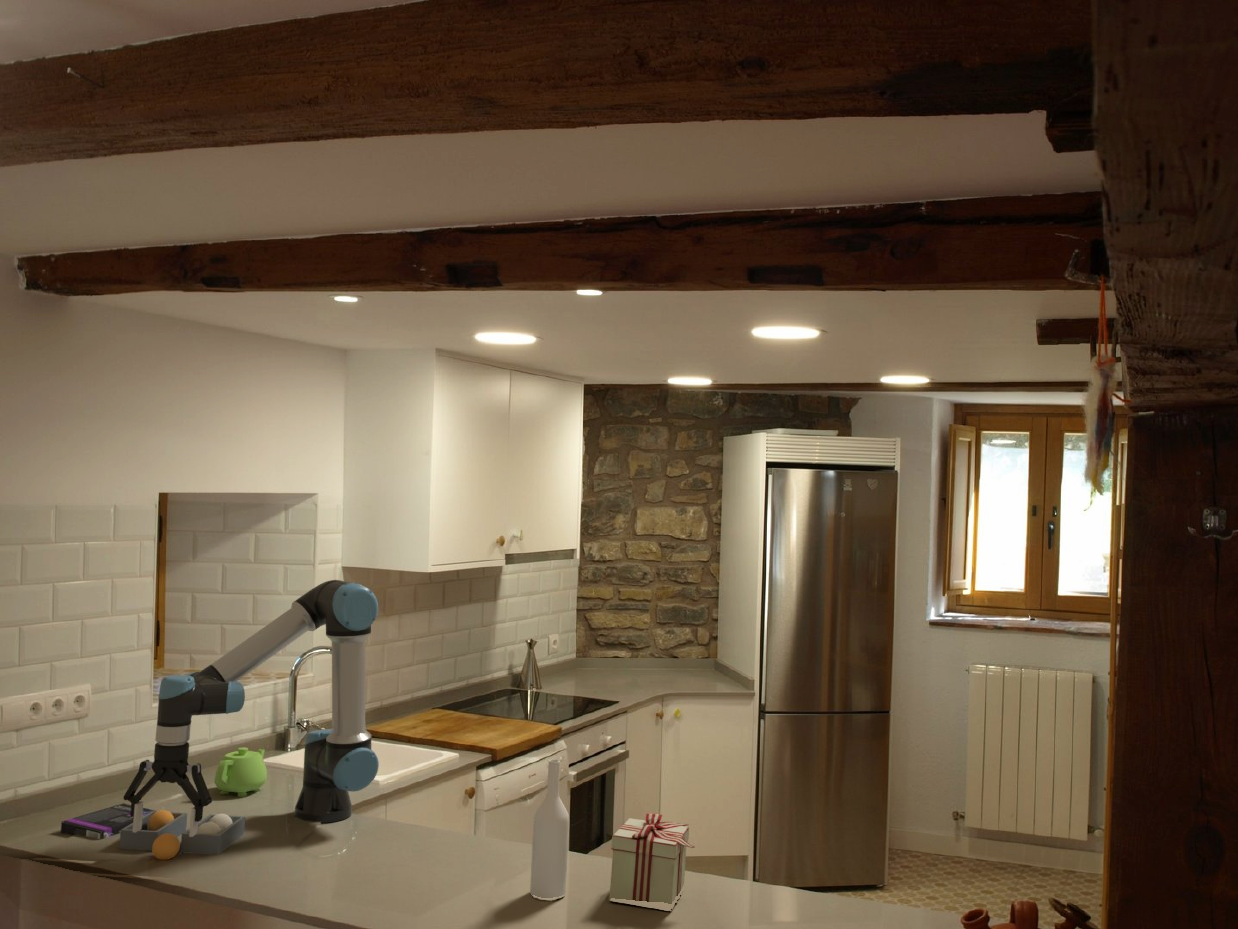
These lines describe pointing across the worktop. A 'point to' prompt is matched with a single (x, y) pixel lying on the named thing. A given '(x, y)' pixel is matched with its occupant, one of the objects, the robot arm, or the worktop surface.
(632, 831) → the gift box
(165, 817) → the orange ball
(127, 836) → the ball tray
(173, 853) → the orange ball
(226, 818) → the cream ball
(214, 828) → the cream ball
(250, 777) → the teapot
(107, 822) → the box
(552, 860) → the bottle
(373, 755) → the robot arm
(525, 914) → the worktop surface
